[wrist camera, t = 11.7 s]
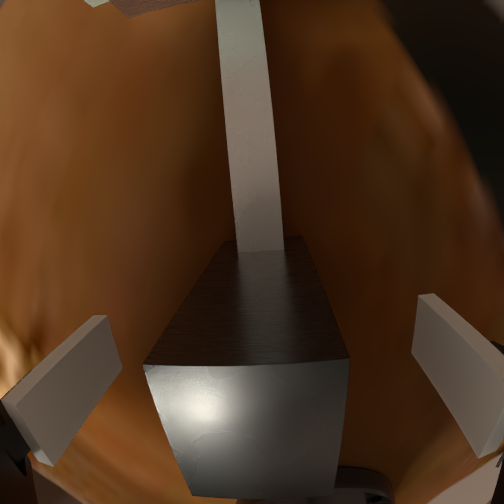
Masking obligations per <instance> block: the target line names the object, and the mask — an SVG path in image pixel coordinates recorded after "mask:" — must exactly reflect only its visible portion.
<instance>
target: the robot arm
mask: <svg viewBox="0 0 504 504" xmlns="http://www.w3.org/2000/svg"><path fill="white" fill-rule="evenodd" d="M411 353H412V355H413V356H414V358H415V359H416V360H417V362H418V363H419V365H420V366H421V368H422V369H423V371H424V372H425V374H426V375H427V377H428V378H429V380H430V381H431V383H432V384H433V386H434V387H435V389H436V390H437V392H438V394H439V395H440V397H441V398H442V400H443V401H444V403H445V404H446V406H447V408H448V409H449V411H450V412H451V414H452V416H453V417H454V419H455V420H456V422H457V424H458V425H459V427H460V429H461V430H462V432H463V434H464V435H465V437H466V439H467V440H468V442H469V444H470V445H471V447H472V449H473V450H474V452H475V454H476V456H477V457H478V458H481V457H483V456H485V455H488V454H490V453H492V452H494V451H497V449H498V447H499V445H500V444H501V442H502V440H503V438H504V346H502V345H500V344H498V343H496V342H494V341H490V342H489V341H488V340H487V339H486V338H485V337H484V336H482V335H481V334H480V333H479V332H478V331H477V330H476V329H475V328H474V327H472V326H471V325H470V324H469V323H468V322H467V321H466V320H465V319H463V318H462V317H461V316H460V315H459V314H458V313H457V312H455V311H454V310H453V309H452V308H451V307H450V306H448V305H447V304H446V303H445V302H444V301H442V300H441V299H440V298H439V297H438V296H436V295H435V294H434V293H431V294H424V295H418V302H417V312H416V321H415V329H414V336H413V343H412V350H411ZM122 368H123V367H122V364H121V361H120V357H119V354H118V351H117V348H116V344H115V341H114V338H113V334H112V331H111V327H110V324H109V320H108V316H107V315H93V316H92V317H91V318H90V319H89V320H87V321H86V322H85V323H84V324H83V325H82V326H80V327H79V328H78V329H77V330H76V331H75V332H74V333H73V334H71V335H70V336H69V337H68V338H67V339H66V340H65V341H64V342H62V343H61V344H60V345H59V346H58V347H57V348H56V349H55V350H54V351H52V352H51V353H50V354H49V355H48V356H47V357H46V358H45V359H44V360H43V361H41V362H40V363H39V364H38V365H37V366H36V367H35V368H34V369H33V370H31V371H30V372H29V373H27V374H26V375H25V376H24V377H23V379H22V380H20V381H19V382H18V383H17V385H15V386H14V387H13V388H12V389H11V390H10V391H8V392H7V393H6V394H5V395H4V396H3V397H2V398H1V399H0V504H38V502H37V497H36V492H35V486H34V480H33V474H32V467H31V462H30V459H29V458H28V456H27V454H28V452H29V451H30V450H31V451H32V452H33V454H34V455H35V457H36V458H37V460H38V461H39V462H42V463H44V464H47V465H50V466H52V467H55V465H56V463H57V462H58V460H59V459H60V457H61V456H62V454H63V453H64V452H65V450H66V449H67V447H68V446H69V444H70V443H71V441H72V440H73V438H74V437H75V435H76V434H77V432H78V431H79V429H80V428H81V427H82V425H83V424H84V422H85V421H86V419H87V418H88V416H89V415H90V414H91V412H92V411H93V409H94V408H95V406H96V405H97V404H98V402H99V401H100V399H101V398H102V396H103V395H104V394H105V392H106V391H107V389H108V388H109V387H110V385H111V384H112V382H113V381H114V380H115V378H116V377H117V375H118V374H119V373H120V371H121V370H122ZM501 462H502V466H501V470H500V473H499V477H498V481H497V485H496V488H495V491H494V494H493V498H492V501H491V504H504V453H503V454H502V456H501V458H500V459H499V461H498V463H497V465H496V467H499V465H500V464H501ZM236 504H395V498H394V494H393V491H392V487H391V484H390V482H389V480H388V479H387V478H386V477H384V476H383V475H381V474H379V473H377V472H374V471H370V470H366V469H359V468H346V467H337V473H336V478H335V484H334V489H333V495H326V496H316V497H304V498H287V499H237V502H236Z"/></svg>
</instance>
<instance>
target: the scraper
mask: <svg viewBox="0 0 504 504" xmlns="http://www.w3.org/2000/svg"><path fill="white" fill-rule="evenodd" d="M109 1H110V2H111V3H112V4H113V5H114V6H116V7H117V8H118V9H119V10H120V11H121V12H122V13H123V14H124V15H126V16H127V17H128V18H131V17H134V16H138V15H141V14H144V13H148V12H152V11H155V10H159V9H163V8H167V7H171V6H176V5H180V4H185V3H189V2H194V1H200V0H109ZM215 4H216V18H217V30H218V43H219V55H220V67H221V79H222V91H223V102H224V114H225V125H226V136H227V147H228V157H229V168H230V178H231V188H232V199H233V209H234V219H235V229H236V238H237V241H227V242H224V243H223V244H222V246H221V247H220V248H219V250H218V251H217V253H216V254H215V256H214V257H213V259H212V260H211V262H210V263H209V265H208V266H207V267H206V269H205V270H204V272H203V273H202V275H201V276H200V278H199V279H198V281H197V282H196V284H195V285H194V287H193V288H192V290H191V291H190V293H189V294H188V296H187V297H186V299H185V300H184V302H183V303H182V305H181V306H180V308H179V309H178V311H177V312H176V314H175V315H174V317H173V318H172V320H171V321H170V323H169V324H168V326H167V327H166V329H165V330H164V332H163V333H162V335H161V337H160V338H159V340H158V341H157V343H156V344H155V346H154V347H153V349H152V350H151V352H150V353H149V355H148V357H147V358H146V360H145V361H144V363H143V364H142V365H143V368H144V371H145V375H146V378H147V381H148V384H149V387H150V390H151V393H152V396H153V399H154V402H155V405H156V408H157V411H158V414H159V416H160V419H161V422H162V425H163V427H164V430H165V432H166V435H167V438H168V440H169V443H170V445H171V448H172V450H173V453H174V455H175V458H176V460H177V462H178V465H179V467H180V469H181V472H182V474H183V476H184V478H185V481H186V483H187V485H188V487H189V489H190V491H191V494H192V496H202V497H214V498H230V499H287V498H304V497H316V496H326V495H333V489H334V484H335V478H336V473H337V467H338V460H339V454H340V447H341V440H342V433H343V425H344V417H345V408H346V399H347V389H348V377H349V365H350V357H349V354H348V352H347V349H346V346H345V343H344V341H343V338H342V335H341V333H340V330H339V327H338V325H337V322H336V319H335V317H334V314H333V311H332V309H331V306H330V304H329V301H328V298H327V296H326V293H325V291H324V288H323V286H322V283H321V281H320V278H319V276H318V273H317V271H316V268H315V266H314V263H313V261H312V258H311V256H310V254H309V251H308V249H307V246H306V244H305V242H304V239H303V237H302V236H295V237H283V227H282V214H281V201H280V189H279V177H278V165H277V154H276V143H275V133H274V122H273V112H272V103H271V93H270V84H269V75H268V66H267V57H266V49H265V41H264V33H263V25H262V17H261V9H260V2H259V0H215Z"/></svg>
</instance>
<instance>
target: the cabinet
mask: <svg viewBox="0 0 504 504" xmlns="http://www.w3.org/2000/svg"><path fill="white" fill-rule="evenodd" d="M84 1H85V2H87V3H88V4H89V5H91V6H92V7H93V8H94V7H96V6H98V5H101V4H104V3H106V2H109V0H84Z"/></svg>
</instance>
